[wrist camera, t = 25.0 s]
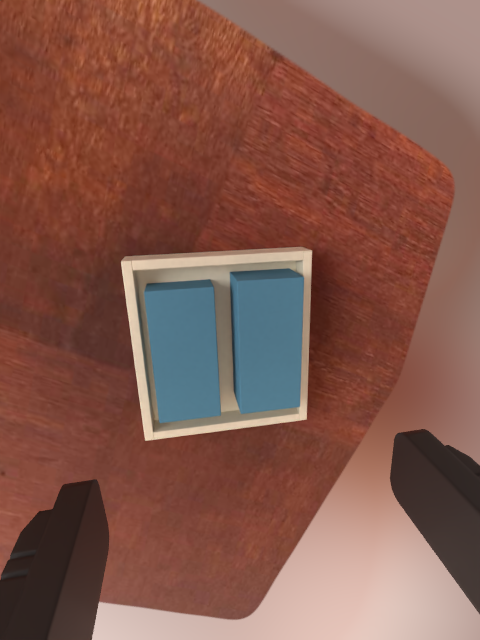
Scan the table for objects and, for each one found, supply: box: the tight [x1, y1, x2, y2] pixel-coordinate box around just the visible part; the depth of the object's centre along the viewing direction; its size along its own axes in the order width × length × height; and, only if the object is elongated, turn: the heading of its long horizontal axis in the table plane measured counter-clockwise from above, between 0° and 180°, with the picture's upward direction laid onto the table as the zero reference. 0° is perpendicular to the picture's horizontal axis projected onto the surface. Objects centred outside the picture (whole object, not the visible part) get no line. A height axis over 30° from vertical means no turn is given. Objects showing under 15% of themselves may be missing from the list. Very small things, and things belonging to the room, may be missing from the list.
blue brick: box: [144, 279, 221, 423], centre depth 32 cm, size 6×12×3 cm, turn 2°
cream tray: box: [121, 247, 312, 441], centre depth 33 cm, size 16×17×3 cm
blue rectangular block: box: [230, 268, 304, 414], centre depth 32 cm, size 6×12×4 cm, turn 1°
